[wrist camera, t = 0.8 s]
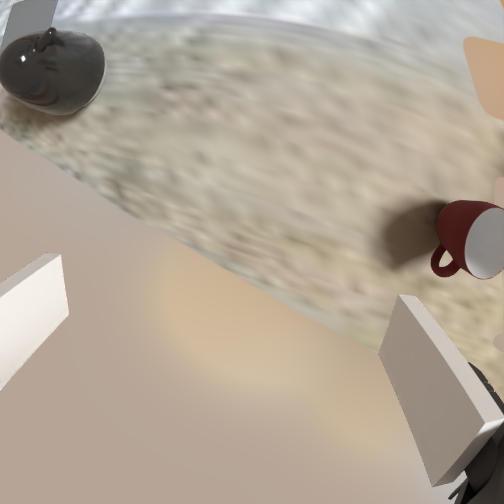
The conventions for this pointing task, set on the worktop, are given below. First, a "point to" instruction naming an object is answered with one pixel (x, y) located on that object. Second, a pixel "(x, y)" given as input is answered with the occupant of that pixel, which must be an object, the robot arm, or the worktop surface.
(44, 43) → the pump dispenser
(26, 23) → the mat
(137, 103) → the worktop surface
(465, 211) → the mug
